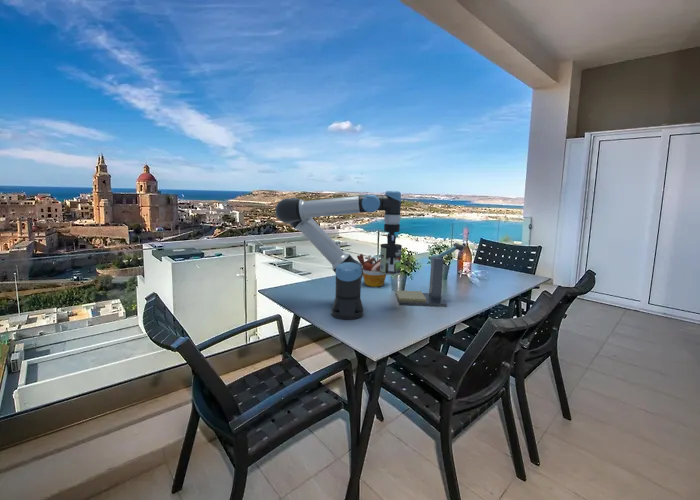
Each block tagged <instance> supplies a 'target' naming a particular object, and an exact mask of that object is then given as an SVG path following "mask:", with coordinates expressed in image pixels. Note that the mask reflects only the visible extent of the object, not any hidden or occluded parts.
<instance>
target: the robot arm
mask: <svg viewBox="0 0 700 500" xmlns="http://www.w3.org/2000/svg"><path fill="white" fill-rule="evenodd" d="M401 204H402V192H401V191H397V190H396V191H395V190H387V191H385V194H361V195H354V196H353V195H352V196H344V197H335V198H332V197H331V198H323V199H313V200H303V199H302V198H296V197H293V198H283V199H282V200H280V201H278V202H277V204H276V207H275V215H276V217H277V219H278V220H279V221H280V222H282V223H284V224H289V225H290V226H291V227H292V228H293V229H294V230H296V231H297V230H298V231H300V232H301V233H302V234H303V235H304V236H305V237H306V239H307V240H308V241H309V242H310V243H311V245H313V246H314V247H315V248H316V250H318V251H319V252H320V254H321V255H322V256H323V257H324V258H325V260H327V261H328V262H329V264H331V265H332V268H331V269H332V271H333V272H334V274H335V298H334V300H333V304H332V306H331V316H333V317H334V318H337V319H340V320H356V319H360V318H362V317H363V316H364V313H365V310H364V307H363V303H362V299H361V292H362V291H361V289H362V279H363V267H362V265H361V264H360V262H359V260H358V259H355V258H353V256H352V255H351V254H350V253H346V252H344V251H343V250H342V249H341V248H340V247H339V246H338V244H336V243H335V241H334V240H333V239H332V238H331V237H330V235H328V233H326V231H324V229H323V228H322V227H321V226H320V225H319V224H318V222H316V221H315V220H314V218H317V217H318V218H319V217H328V216H330V217H331V216H341V215H350V214H361V213H362V214H363V213H375V212H376V211H377V212H384V216H383V217H384V218H383V219H384V220H383V221H384V224H383V225H384V226H383V231H384V232H385V233H386V232H387V235H386V238H387V240H386V241H387V242H386V244H389V246H390V248H389V256H388V258H389V263H388V271H394V260H395V244H397V243H396V239H397V236H396V235H395V233H399V232H400V230H401V229H400V227H401V225H400V222H401V219H402V216H401V211H402V210H401V209H402V208H401V206H402V205H401ZM391 254H393V255H391Z"/></svg>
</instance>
